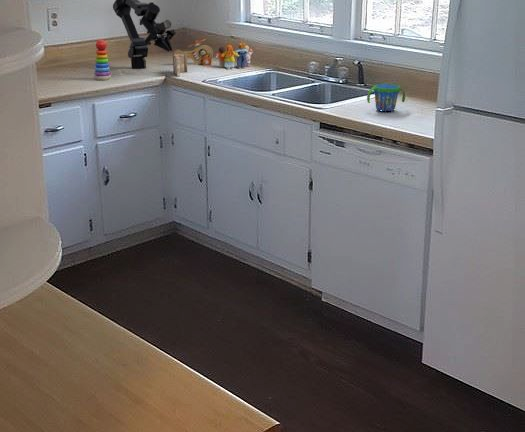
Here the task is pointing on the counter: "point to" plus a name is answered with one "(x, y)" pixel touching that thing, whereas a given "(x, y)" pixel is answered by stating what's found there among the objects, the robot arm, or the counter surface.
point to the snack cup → (386, 96)
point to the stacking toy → (101, 62)
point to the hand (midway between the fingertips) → (170, 50)
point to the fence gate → (176, 64)
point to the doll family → (229, 60)
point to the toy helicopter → (195, 56)
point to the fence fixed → (183, 62)
